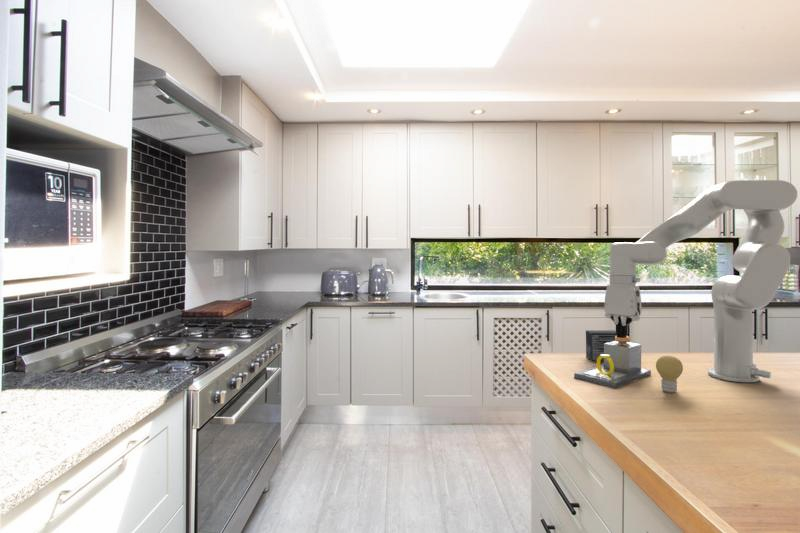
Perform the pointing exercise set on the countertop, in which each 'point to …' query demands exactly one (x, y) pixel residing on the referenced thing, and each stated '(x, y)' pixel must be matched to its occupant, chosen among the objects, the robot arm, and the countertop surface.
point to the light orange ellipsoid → (622, 340)
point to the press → (617, 366)
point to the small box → (597, 342)
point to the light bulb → (669, 372)
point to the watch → (608, 361)
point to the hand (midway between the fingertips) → (621, 336)
